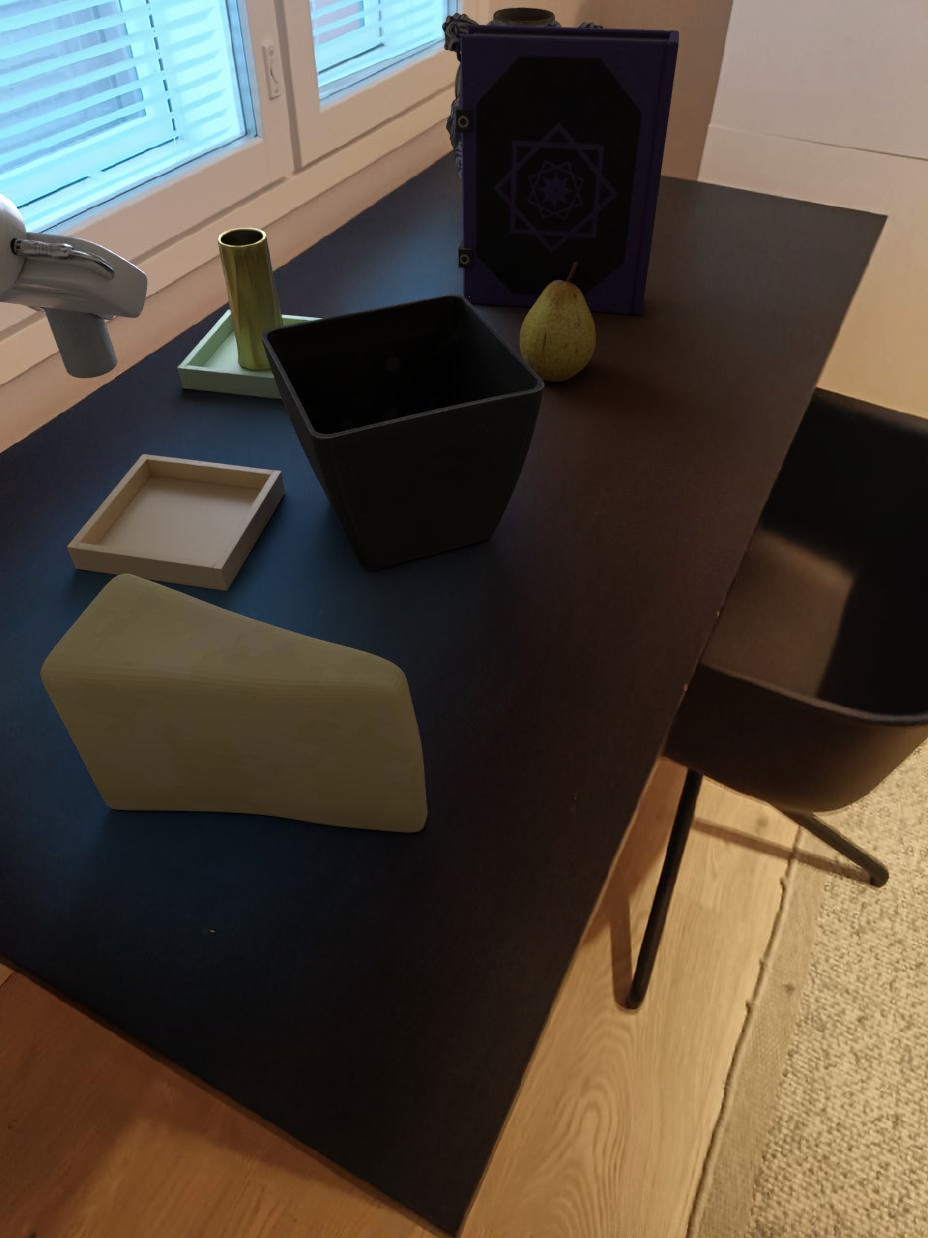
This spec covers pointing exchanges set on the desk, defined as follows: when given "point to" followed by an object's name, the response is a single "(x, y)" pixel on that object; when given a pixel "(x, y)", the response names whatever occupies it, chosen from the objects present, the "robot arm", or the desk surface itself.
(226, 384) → the vase tray
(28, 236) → the robot arm
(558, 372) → the fruit
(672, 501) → the desk surface
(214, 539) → the tray
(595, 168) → the book
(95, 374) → the grey tapered cylinder
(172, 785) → the cheese
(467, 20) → the decorative vase
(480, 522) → the flower pot
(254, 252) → the vase
